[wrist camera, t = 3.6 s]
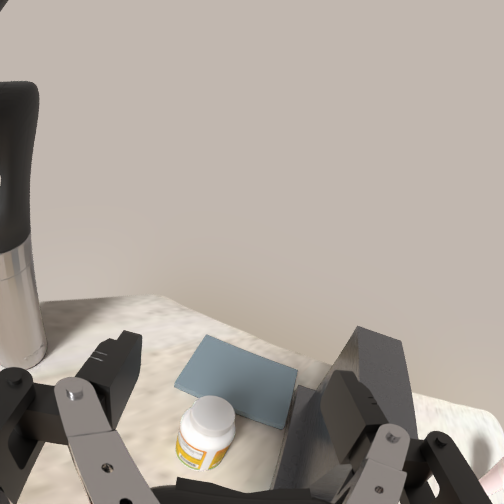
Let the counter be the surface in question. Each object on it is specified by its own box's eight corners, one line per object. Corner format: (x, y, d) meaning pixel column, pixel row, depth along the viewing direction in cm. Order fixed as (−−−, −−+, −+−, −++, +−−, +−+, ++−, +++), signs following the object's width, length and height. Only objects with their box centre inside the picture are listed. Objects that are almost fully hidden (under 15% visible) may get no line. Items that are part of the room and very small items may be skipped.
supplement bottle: (217, 432, 31) (236, 388, 27) (226, 471, 26) (249, 436, 22) (173, 432, 29) (181, 387, 25) (177, 472, 25) (186, 437, 21)
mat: (174, 386, 35) (174, 382, 35) (205, 338, 45) (206, 334, 45) (282, 429, 34) (284, 426, 33) (295, 374, 43) (297, 370, 43)
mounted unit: (262, 513, 22) (331, 464, 16) (294, 391, 40) (341, 310, 34) (344, 527, 21) (439, 477, 14) (354, 409, 39) (411, 335, 32)
